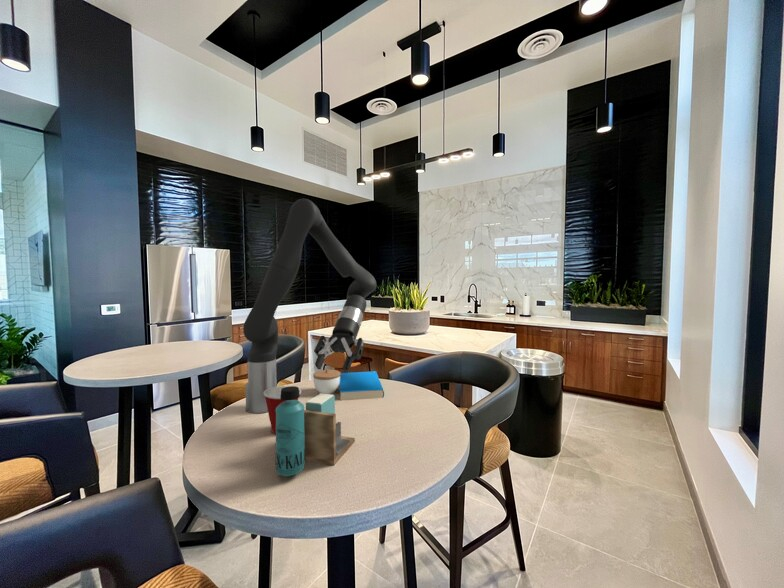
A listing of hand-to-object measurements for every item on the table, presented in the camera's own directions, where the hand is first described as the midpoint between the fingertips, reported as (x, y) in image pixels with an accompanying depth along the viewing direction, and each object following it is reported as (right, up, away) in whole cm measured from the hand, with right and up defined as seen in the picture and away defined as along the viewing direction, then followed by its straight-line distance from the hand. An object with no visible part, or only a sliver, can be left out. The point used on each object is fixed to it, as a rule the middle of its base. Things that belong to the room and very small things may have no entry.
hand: (331, 369), depth 90 cm
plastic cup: (-15, -20, +5) cm, 25 cm away
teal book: (-2, -19, -5) cm, 19 cm away
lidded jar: (-9, -19, +39) cm, 44 cm away
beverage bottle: (-6, -20, -17) cm, 27 cm away
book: (+4, -19, +43) cm, 47 cm away
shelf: (-2, -20, -6) cm, 21 cm away
